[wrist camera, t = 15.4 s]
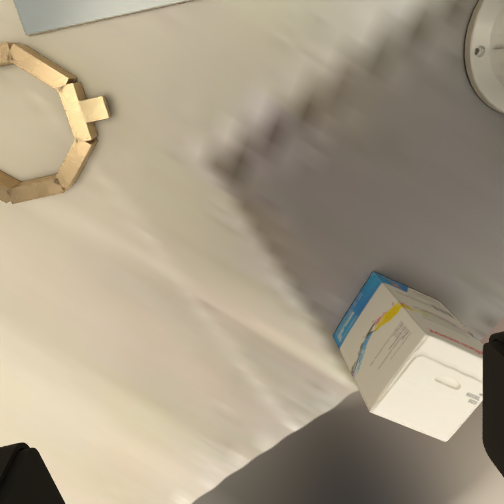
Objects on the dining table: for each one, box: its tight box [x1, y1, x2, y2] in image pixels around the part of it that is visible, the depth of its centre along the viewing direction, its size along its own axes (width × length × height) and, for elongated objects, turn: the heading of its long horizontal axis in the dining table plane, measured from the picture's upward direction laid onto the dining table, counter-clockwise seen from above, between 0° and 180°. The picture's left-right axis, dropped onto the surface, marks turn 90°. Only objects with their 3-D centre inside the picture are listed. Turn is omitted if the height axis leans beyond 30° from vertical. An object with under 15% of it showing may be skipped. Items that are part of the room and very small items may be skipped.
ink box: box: [333, 272, 483, 441], centre depth 42 cm, size 9×8×12 cm
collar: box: [0, 42, 111, 204], centre depth 36 cm, size 15×11×2 cm
